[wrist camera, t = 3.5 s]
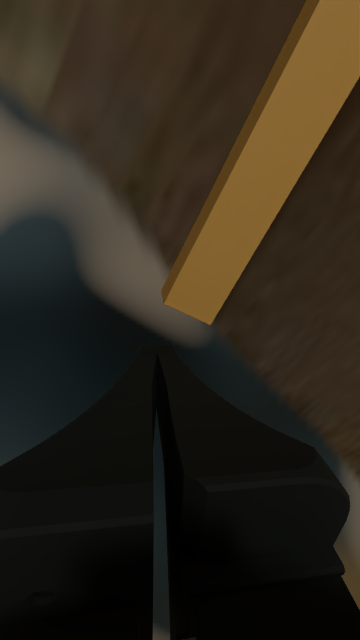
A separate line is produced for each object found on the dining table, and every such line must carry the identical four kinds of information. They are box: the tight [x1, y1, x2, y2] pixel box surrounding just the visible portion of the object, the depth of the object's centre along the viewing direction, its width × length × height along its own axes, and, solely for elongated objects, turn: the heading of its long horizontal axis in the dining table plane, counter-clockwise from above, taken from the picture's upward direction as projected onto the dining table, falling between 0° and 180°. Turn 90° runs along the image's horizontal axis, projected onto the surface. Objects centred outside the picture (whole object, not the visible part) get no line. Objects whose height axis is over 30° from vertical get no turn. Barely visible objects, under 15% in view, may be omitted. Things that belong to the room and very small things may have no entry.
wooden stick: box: [162, 0, 360, 325], centre depth 7 cm, size 17×3×3 cm, turn 152°
